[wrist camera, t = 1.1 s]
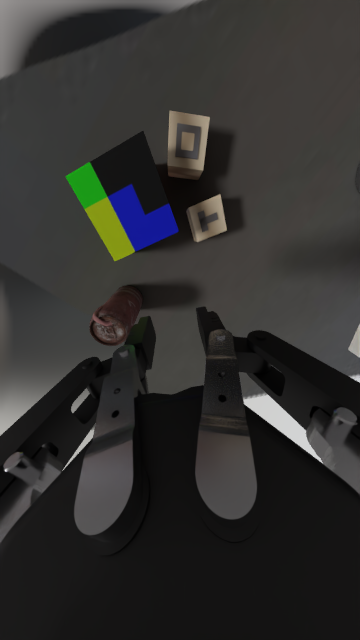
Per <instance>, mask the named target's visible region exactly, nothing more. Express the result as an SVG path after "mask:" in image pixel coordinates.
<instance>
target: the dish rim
mask: <svg viewBox="0 0 360 640" xmlns="http://www.w3.org/2000/svg"><path fill="white" fill-rule="evenodd" d="M348 350H349V351H351V352H352V353H354V354H355V355H357V356H358V357H360V324H359V327H358V329H357V331H356V333H355V335H354V338H353V340H352V342H351V344H350V346H349V349H348Z"/></svg>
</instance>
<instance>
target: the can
mask: <svg viewBox="0 0 360 640" xmlns="http://www.w3.org/2000/svg"><path fill="white" fill-rule="evenodd" d="M142 304H143V297H142V294H141V293H140V291H139V290H138V289H136V288H134V287H132V286H122V287H120V288H119V289H118V290H117V291H116V292H115V293H114V294H113V295H112V296H111V298H110V299H109V300H108V301H107V302H106V303H105V304H104V305H103V306H101V307H99V308H98V309H97V310H96V311H95V313H94V314H93V317H92V318H91V321H90V333H91V335H92V337H93V338H94V339H95V340H96V341H98V342H99V343H101V344H104V345H108V346H116V345H119V344H121V343H122V342H124V341H125V340H126V339H127V337H128V334H129V332H130V330H131V328H132V327H133V326H134V323H135V321H136V318H137V316H138V313H139V311H140V308H141V306H142Z"/></svg>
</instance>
